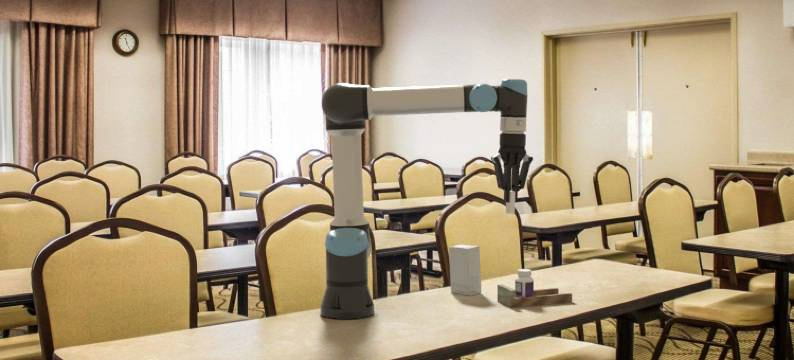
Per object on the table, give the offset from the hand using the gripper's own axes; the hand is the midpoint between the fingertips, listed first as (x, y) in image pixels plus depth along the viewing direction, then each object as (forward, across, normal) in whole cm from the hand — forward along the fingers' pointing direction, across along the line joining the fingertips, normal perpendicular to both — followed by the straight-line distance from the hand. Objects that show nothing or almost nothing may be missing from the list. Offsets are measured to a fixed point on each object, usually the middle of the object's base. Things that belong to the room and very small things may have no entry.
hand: (510, 213), depth 264 cm
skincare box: (+27, -6, +17) cm, 33 cm away
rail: (+26, +8, -2) cm, 28 cm away
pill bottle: (+27, +5, -2) cm, 27 cm away
